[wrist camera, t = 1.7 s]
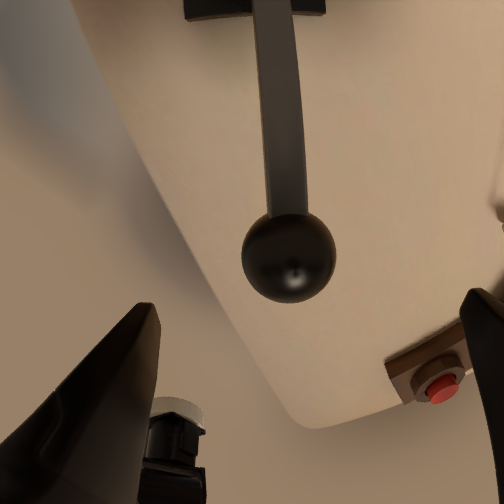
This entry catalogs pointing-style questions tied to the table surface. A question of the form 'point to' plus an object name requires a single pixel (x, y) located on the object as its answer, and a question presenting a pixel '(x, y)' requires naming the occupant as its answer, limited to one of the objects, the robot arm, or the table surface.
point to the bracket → (243, 8)
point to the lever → (284, 173)
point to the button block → (430, 364)
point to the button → (442, 389)
